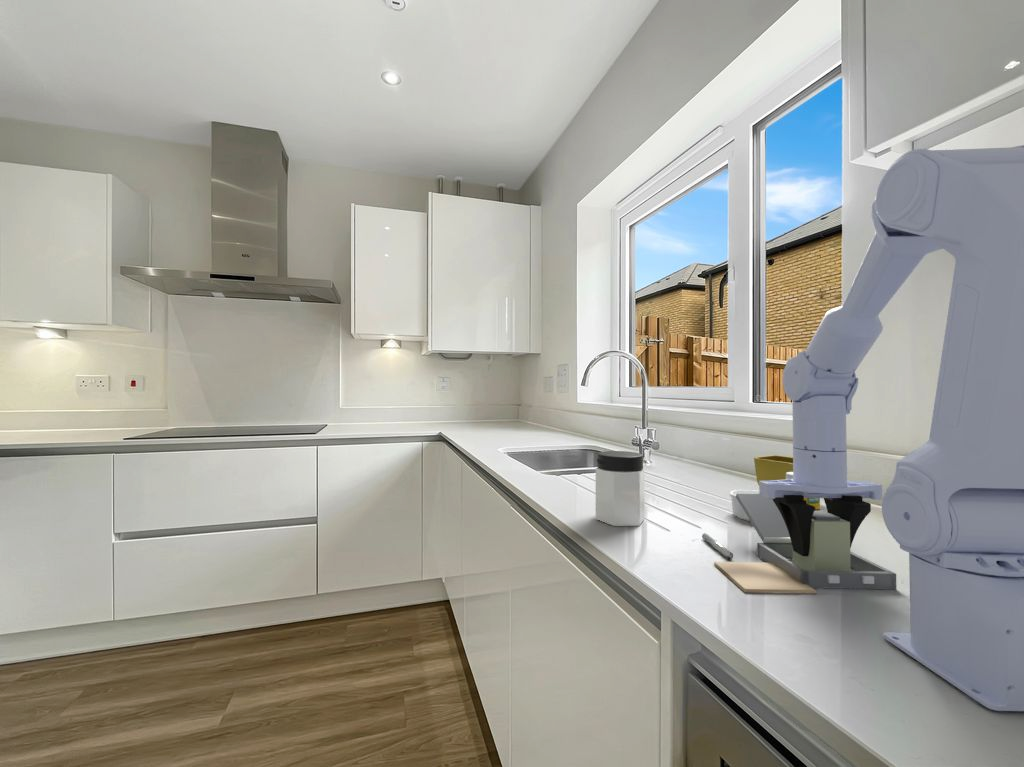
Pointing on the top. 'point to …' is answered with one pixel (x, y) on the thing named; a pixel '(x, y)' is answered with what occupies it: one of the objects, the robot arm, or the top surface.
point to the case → (862, 578)
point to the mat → (762, 578)
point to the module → (827, 544)
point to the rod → (717, 546)
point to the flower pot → (772, 467)
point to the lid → (765, 518)
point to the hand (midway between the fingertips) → (820, 553)
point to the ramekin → (736, 505)
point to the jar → (620, 488)
